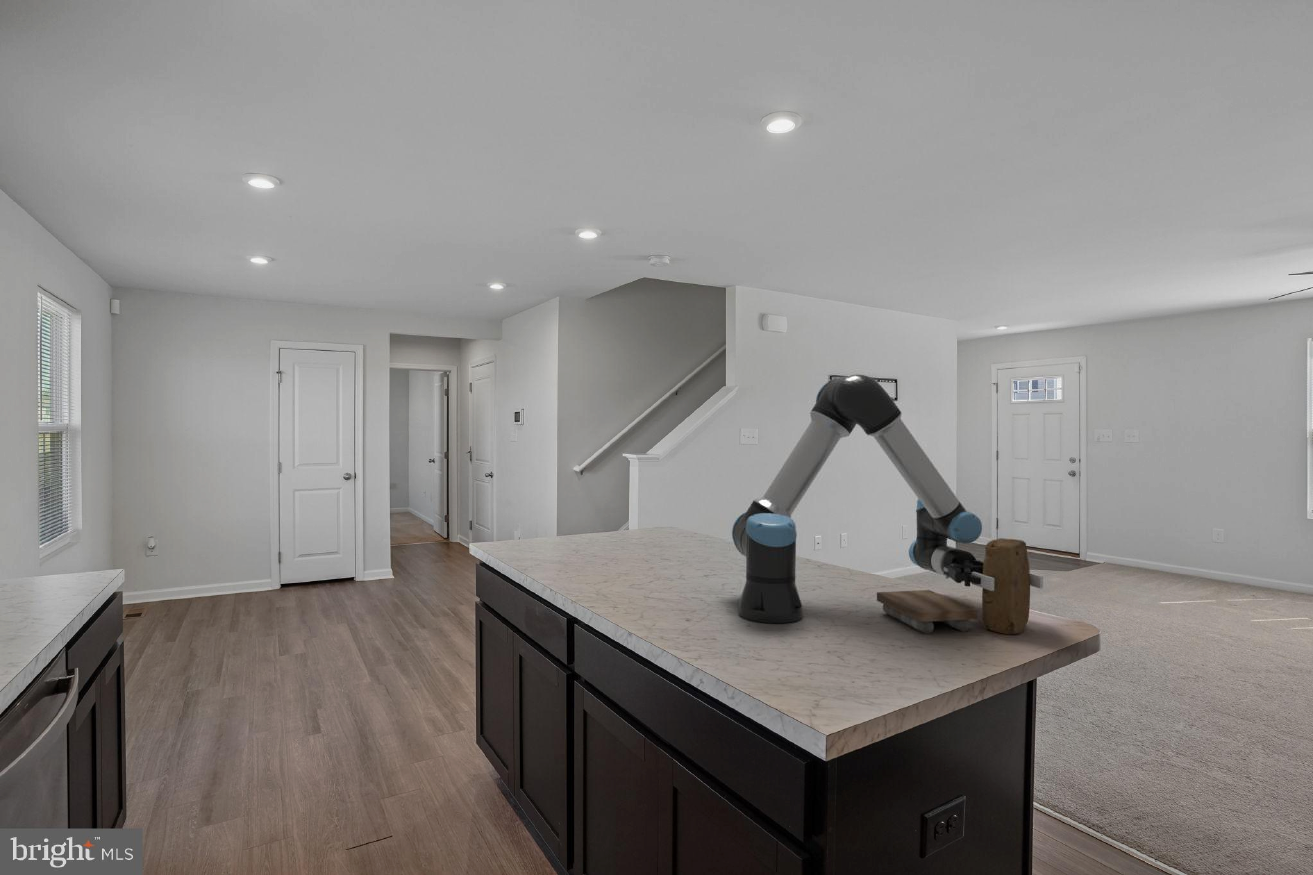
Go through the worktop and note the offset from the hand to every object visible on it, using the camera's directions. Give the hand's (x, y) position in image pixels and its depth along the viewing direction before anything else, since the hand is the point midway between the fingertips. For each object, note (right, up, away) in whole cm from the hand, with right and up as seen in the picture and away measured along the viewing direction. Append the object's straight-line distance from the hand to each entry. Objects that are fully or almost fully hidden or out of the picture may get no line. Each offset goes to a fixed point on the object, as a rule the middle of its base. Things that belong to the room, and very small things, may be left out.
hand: (1017, 583), depth 146 cm
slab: (-17, -11, +8) cm, 22 cm away
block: (-1, -11, +3) cm, 12 cm away
